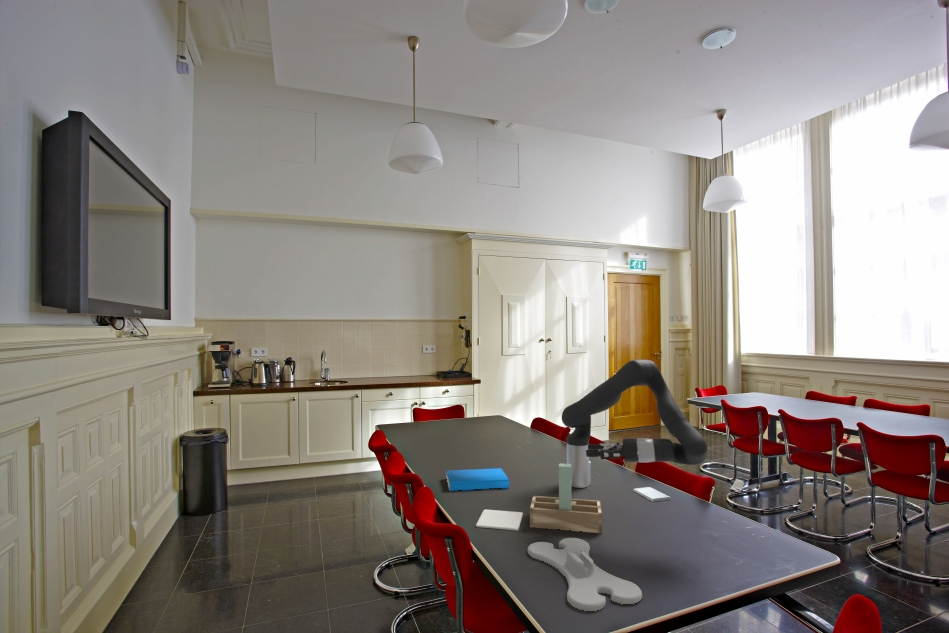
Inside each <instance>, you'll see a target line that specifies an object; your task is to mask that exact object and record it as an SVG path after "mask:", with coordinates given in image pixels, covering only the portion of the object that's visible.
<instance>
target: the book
mask: <svg viewBox="0 0 949 633" xmlns="http://www.w3.org/2000/svg"><path fill="white" fill-rule="evenodd" d="M445 472H446V473H445V474H446V476H445V478H446V479H447V480H446V483H448V484H447V487H448V490H449V492H457V491H458V490H462V491H475V490H474V489H482V490H490V489H489V488H502V489H509V488H510V479H509V476H507V474H506V473H505V472H504V470H503V468H500V467H499V468H479V469H478V468H477V469H475V468H474V469H459V470H458V469H456V470H455V469H454V470H445ZM508 487H509V488H508ZM458 492H459V491H458Z"/></svg>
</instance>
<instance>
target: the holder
mask: <svg viewBox="0 0 949 633" xmlns="http://www.w3.org/2000/svg"><path fill="white" fill-rule="evenodd" d="M561 548H563V549H561ZM590 550H591V546H590V544H589V543H588V542H587V541H586V540H584V539H580V538H579V537H578V538H577V537H565V538H562V539H561V540H560V541H558V548H555V545H554V544H553V543H551V542H547V541H535V542H533V543H531V544H529V545H528V547H527V555H528V554H529V555H530V556H531V558H532V557H533V558H532V559H534V558H535V559H534V560H537V559H538V560H537V561H540V560H541V561H540V562H542V561H544V562H543V563H545V562H546V563H545V564H547V563H548V564H547V565H549V564H550V565H549V566H551V565H552V566H551V567H553V566H554V567H555V568H554V567H553V568H554V569H556V568H557V569H558V570H559V571H558V570H557V569H556V570H557V571H558V572H560V573H561V575H563V577H564V576H565V577H566V578H565V577H564V578H565V580H566V579H567V580H566V582H567V584H568V589H567V592H566V601H567V603H568V602H569V603H570V604H571V605H572V606H573V608H574V607H575V608H574V609H576V608H577V609H576V610H578V609H579V610H578V611H581V610H584V611H583V612H586V611H595V612H598V611H597V610H599V611H601V610H603V609H604V608H605V607H606V596H604V595H602V594H605V593H607V594H606V595H608V594H609V595H608V596H610V595H611V596H610V601H611V600H612V602H613V601H614V602H613V603H615V602H617V603H616V604H619V603H620V604H619V605H623V604H633V603H637V602H639V601H640V600H641V599H643V592H642V590H641V588H640V587H639V586H638V585H637V584H635V583H634V582H632V581H630V580H629V581H628V580H626V579H624V578H620V577H617V576H615V575H613V574H610V573H608V572H606V571H605V570H604V569H601V568H600V567H599V566H597V564H595V562H594V560H593V559H592V558H591V557H590V552H591V551H590ZM589 551H590V552H589ZM529 555H528V556H529ZM530 556H529V557H530ZM599 593H600V594H599ZM641 601H642V600H641ZM641 601H640V602H641ZM640 602H639V603H640ZM569 603H568V604H569ZM570 604H569V605H570ZM637 604H638V603H637ZM571 605H570V606H571ZM633 605H634V604H633ZM572 606H571V607H572ZM604 606H605V607H604ZM603 607H604V608H603ZM602 608H603V609H602ZM600 609H601V610H600Z"/></svg>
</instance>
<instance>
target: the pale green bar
mask: <svg viewBox="0 0 949 633" xmlns="http://www.w3.org/2000/svg"><path fill="white" fill-rule="evenodd" d="M572 494H573V493H572V486H571V464H567V463H558V498H559V510H567V511H572V499H573V498H572Z"/></svg>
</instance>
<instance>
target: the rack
mask: <svg viewBox="0 0 949 633" xmlns="http://www.w3.org/2000/svg"><path fill="white" fill-rule="evenodd" d="M555 500H559V497H556V496H555V497H554V496H553V497H552V496H542V495H540V496H539V495H532V500H531V504H530V507H529V528H534V527H535V528H537V529H546V528H547V529H548V530H557V529H560V530H561V531H569V530H571V532H580V531H582V533H592V534H593V533H595V534H603V514H602V513H603V512H602V507H601V500H595V499H581V498H572V501H575V502H576V505H575V504H572V511H567V510H559V503H555ZM547 529H546V530H547Z"/></svg>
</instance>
